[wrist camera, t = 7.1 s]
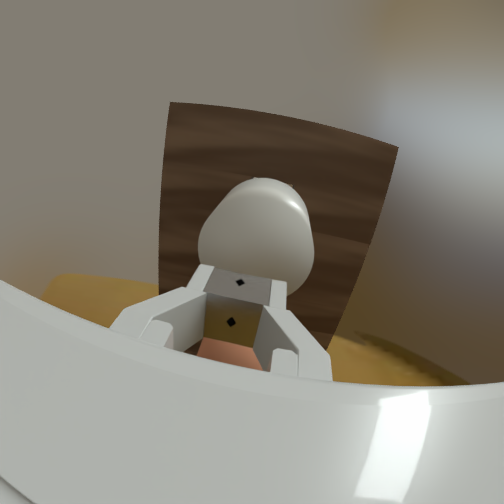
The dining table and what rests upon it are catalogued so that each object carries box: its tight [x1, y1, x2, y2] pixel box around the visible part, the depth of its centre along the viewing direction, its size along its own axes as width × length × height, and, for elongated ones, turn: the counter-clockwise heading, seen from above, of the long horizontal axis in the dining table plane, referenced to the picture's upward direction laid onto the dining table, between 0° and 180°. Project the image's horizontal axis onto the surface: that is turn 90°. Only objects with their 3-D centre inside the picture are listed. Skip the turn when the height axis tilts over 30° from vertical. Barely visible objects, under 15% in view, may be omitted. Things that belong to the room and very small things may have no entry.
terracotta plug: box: [197, 337, 263, 371], centre depth 21 cm, size 10×5×5 cm, turn 173°
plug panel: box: [159, 102, 399, 356], centre depth 23 cm, size 6×16×24 cm, turn 83°
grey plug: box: [198, 178, 314, 296], centre depth 17 cm, size 10×5×5 cm, turn 173°
